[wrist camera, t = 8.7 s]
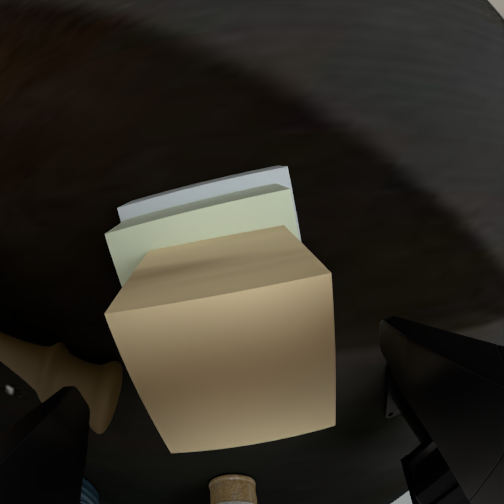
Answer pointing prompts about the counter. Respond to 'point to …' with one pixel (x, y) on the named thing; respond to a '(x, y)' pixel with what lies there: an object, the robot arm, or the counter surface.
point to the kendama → (65, 375)
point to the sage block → (200, 223)
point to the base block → (208, 191)
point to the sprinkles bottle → (233, 490)
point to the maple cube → (230, 340)
